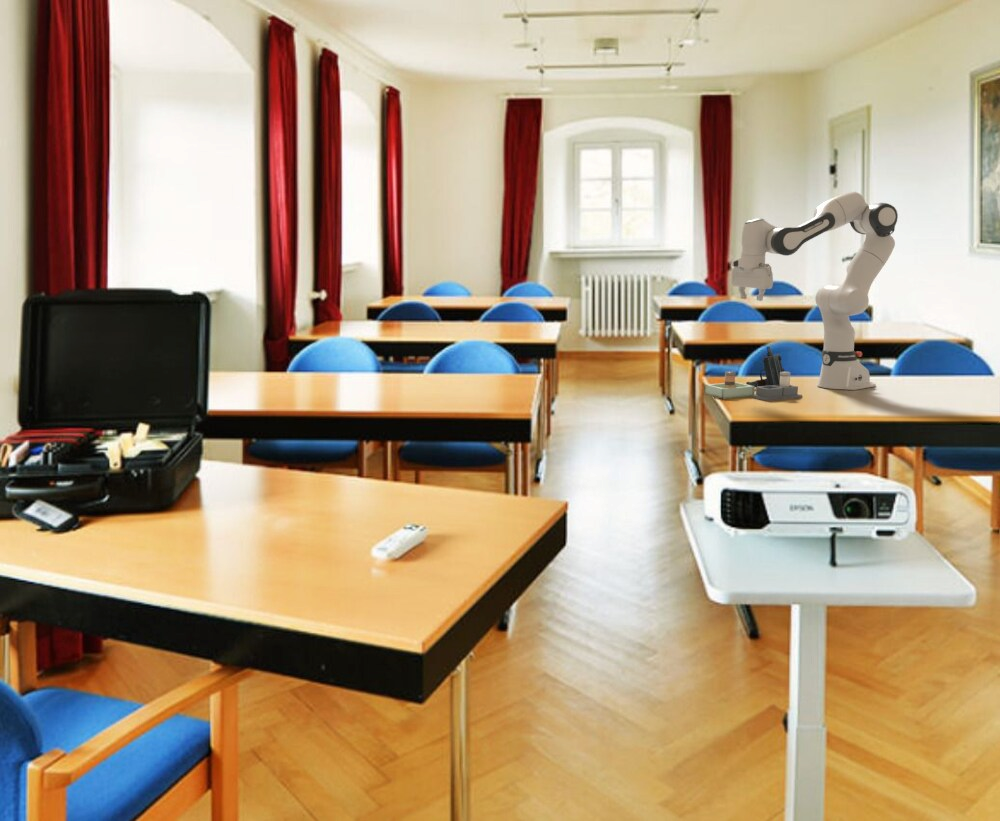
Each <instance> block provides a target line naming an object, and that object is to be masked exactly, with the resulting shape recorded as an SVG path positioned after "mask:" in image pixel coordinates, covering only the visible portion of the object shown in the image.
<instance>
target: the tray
mask: <svg viewBox="0 0 1000 821" xmlns="http://www.w3.org/2000/svg"><path fill="white" fill-rule="evenodd" d="M704 387H705V388H704V395H706V396H710V397H714V398H717V399H723V400H724V399H725V400H726V399H727V400H728V399H736V398H737V399H738V398H747V397H751V395H753V394H755V388H756V387H755V386H751V385H747V384H746V383H741V382H737V381H735V388H725V382H723V383H722V382H721V383H709V384H705V385H704ZM754 387H755V388H754Z"/></svg>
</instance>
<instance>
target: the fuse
mask: <svg viewBox="0 0 1000 821" xmlns="http://www.w3.org/2000/svg"><path fill="white" fill-rule="evenodd" d="M790 385H791V372H790V371H785V372H780V387H790Z"/></svg>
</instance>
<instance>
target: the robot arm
mask: <svg viewBox="0 0 1000 821" xmlns="http://www.w3.org/2000/svg"><path fill="white" fill-rule="evenodd" d="M898 216H899V215H898V211H897V209H896V207H895V206H893V204H890V203H886V202H880V203H872V204H868V203H867V202H866V200H865V198H864V196H863V195H862V194H861V193H860V192H857V191H850V192H846V193H842V194H840V195H839V194H838V195H837V196H834V197H832V198H830V199H828V200H826V201H824V202H822V203H821V204H819V205H818V206H817V207H816V208H815V209H814V212H813V218H811V219H810V220H808V221H806V222H804V223H802V224H800V225H797V226H796V227H777V226H775V225H773V224H771V223H770V222H768V221H767V220H765V219H764V218H754V219H751V220H750V219H749V220H747V221H745V223H743V227H742V232H741V246H742V249H741V253H740V257H739V258H736V260H733V261H732V263H731V264H732V271H731V284H732V286H733V287H738V292H739V294H740V299H741V300H746V299H747V296H748V294H747V293H746V291H745V290H746V288H748V289H749V288H750V289H751V288H752V289H758V295H756V301H758V302H762V301H763V298H764V294H765V293H766V290H770V289H772V288H773V286H774V277H773V275H774V274H773V270H772V266H771V265H770V263H766V253H768V254H769V253H770V254H774V255H781V256H791V255H793V254H795V253H796V252H797V251H798V250H799V249H800V248H801V247H802V246H803V245H804V244H805V243H807V242H808V241H811V240H813V239H814V238H816V237H818V236H820V235H821V234H823V233H826V232H829V231H833V230H836V229H838V228H841V227H842V226H843V227H844V226H845V225H847V224H850V227H851V228H852V230H854V231H855V232H856V233H858V234H860V235H865V239H864V241H863V244H862V245H861V246H860V248H859V249H858V251H857V252H856V253H855V255H854V256H853V257H852V259H851V260H850V261H849V263H848V265H847V266H846V276H845V279H844V281H843V283H842V284H827V285H825V286H822V287H821V288H819V289H818V290H817V292H816V294H815V300H814V301H815V304H816V306H817V307H818V309H819V312H820V313H821V319H822V324H823V331H824V332H823V334H824V335H823V349H822V353H821V360H822V364H821V367H820V374H819V379H818V382H817V387H820V388H824V389H831V390H847V391H850V390H851V391H857V390H861V389H867V388H872V387H873V388H874V387H877V384H876V383H875V382H873V381H870V379H871V377H870V370H869V369H867V368H866V367H865V366H864V365H863V364H861V363H860V362H859V361H858V359H857V358H861V357H862V356H863V353H862V351H855V350H854V349H855V335H856V334H855V332H856V331H855V328H854V327H853V325H852V322H851V319H850V316H857V315H861V314H863V313H864V312H865V311H866V310H867V308H868V306H869V291H870V289H871V286H872V284H873V282H874V281H875V279H876V278H877V276H878V275H879V273H880V272H881V270H882V269H883V267H884V266H885V265H886V263H887V262H888V261H889V259H890V256H891V255H892V253H893V250H894V249H895V246H896V245H895V244H896V241H895V239H894V237H893V236H892V235H893V233H894V232H895V228H896V225H897V223H898V218H899V217H898Z"/></svg>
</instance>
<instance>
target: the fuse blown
mask: <svg viewBox="0 0 1000 821" xmlns="http://www.w3.org/2000/svg"><path fill="white" fill-rule="evenodd" d="M735 382H736V371H732V370H731V371H725V372H724V383H725V388H735Z"/></svg>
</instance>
